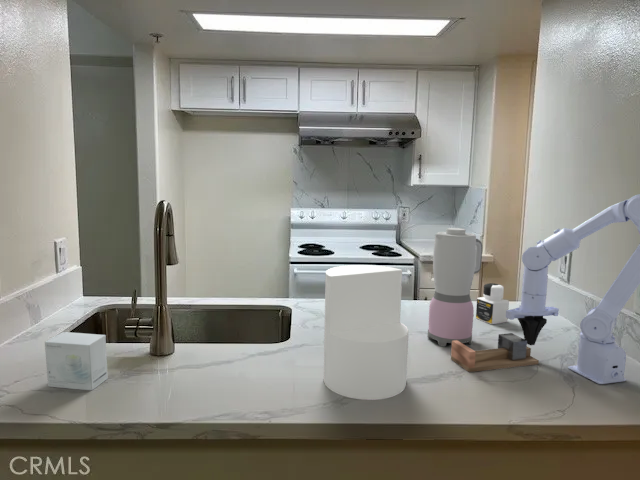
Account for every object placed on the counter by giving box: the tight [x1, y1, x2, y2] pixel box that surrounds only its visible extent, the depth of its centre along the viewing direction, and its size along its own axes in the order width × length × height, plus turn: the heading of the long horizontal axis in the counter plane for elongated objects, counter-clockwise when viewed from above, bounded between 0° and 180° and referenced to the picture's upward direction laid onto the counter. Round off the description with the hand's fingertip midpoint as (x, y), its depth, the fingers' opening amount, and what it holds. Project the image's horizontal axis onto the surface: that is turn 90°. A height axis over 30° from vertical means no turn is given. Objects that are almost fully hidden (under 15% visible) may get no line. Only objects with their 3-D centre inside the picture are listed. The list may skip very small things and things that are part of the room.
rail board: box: [450, 340, 540, 373], centre depth 118 cm, size 8×20×5 cm, turn 106°
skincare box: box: [44, 331, 109, 391], centre depth 102 cm, size 10×6×10 cm, turn 82°
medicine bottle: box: [475, 282, 510, 325], centre depth 152 cm, size 7×7×12 cm
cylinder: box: [323, 264, 409, 401], centre depth 105 cm, size 19×19×25 cm
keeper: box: [497, 332, 528, 360], centre depth 119 cm, size 6×4×5 cm
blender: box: [427, 227, 483, 347], centre depth 132 cm, size 16×12×32 cm
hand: (529, 343), depth 121 cm, fingers closed
